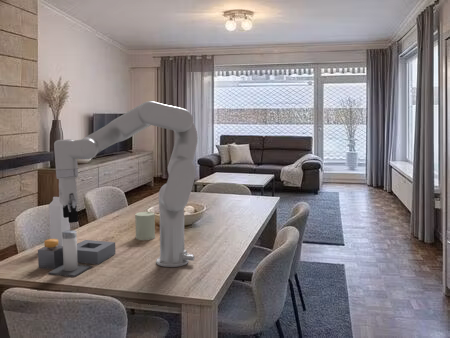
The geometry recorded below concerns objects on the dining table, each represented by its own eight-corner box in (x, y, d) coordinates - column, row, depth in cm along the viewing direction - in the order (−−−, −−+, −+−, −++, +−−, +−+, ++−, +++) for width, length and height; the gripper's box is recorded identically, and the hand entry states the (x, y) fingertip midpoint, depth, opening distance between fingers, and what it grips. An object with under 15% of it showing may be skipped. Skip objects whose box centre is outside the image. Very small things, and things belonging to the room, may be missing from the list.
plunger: (61, 260, 177) (60, 239, 176) (53, 264, 172) (52, 242, 171) (50, 259, 178) (49, 238, 177) (42, 263, 174) (41, 241, 173)
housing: (115, 253, 191) (115, 242, 190) (97, 264, 177) (97, 251, 177) (85, 251, 194) (85, 239, 194) (66, 261, 181) (65, 249, 180)
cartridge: (76, 266, 173) (74, 229, 172) (79, 269, 169) (77, 232, 168) (62, 268, 171) (61, 231, 170) (65, 271, 167) (63, 234, 165)
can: (159, 237, 217) (158, 212, 216) (145, 241, 210) (144, 215, 208) (145, 234, 223) (145, 209, 221) (131, 238, 215) (130, 213, 214)
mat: (91, 267, 174) (91, 265, 174) (75, 277, 163) (75, 275, 163) (66, 264, 177) (66, 263, 177) (48, 274, 166) (48, 272, 166)
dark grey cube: (65, 263, 178) (65, 246, 177) (54, 269, 171) (53, 251, 170) (50, 262, 180) (49, 244, 179) (38, 267, 173) (37, 249, 172)
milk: (59, 243, 206) (57, 195, 203) (70, 245, 204) (68, 196, 201) (50, 247, 200) (48, 197, 197) (61, 248, 198) (59, 198, 196)
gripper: (52, 172, 171) (55, 216, 174) (61, 177, 156) (64, 226, 159) (72, 170, 175) (76, 214, 177) (83, 175, 160) (86, 222, 162)
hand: (70, 219), depth 168 cm, fingers open, 9 cm apart
